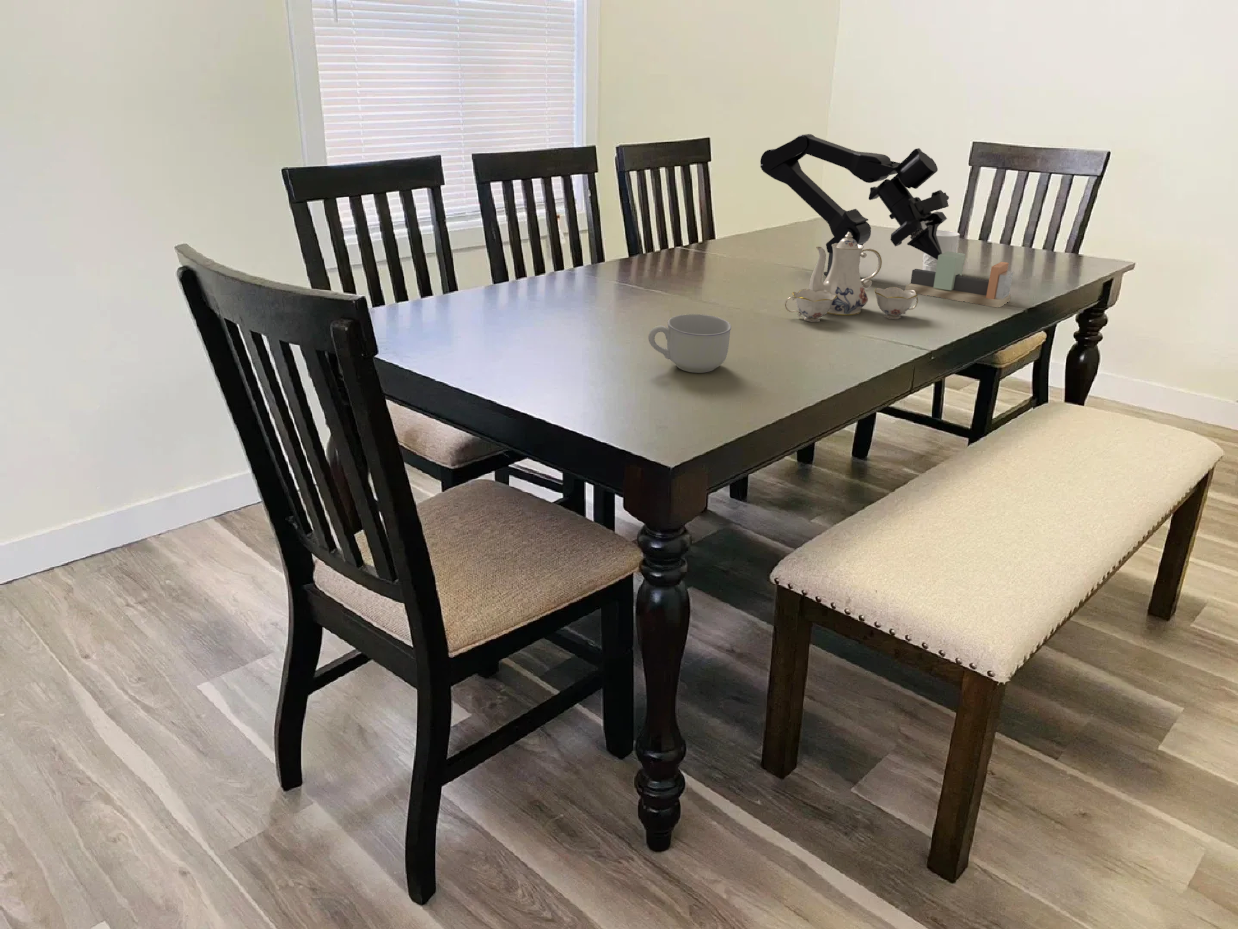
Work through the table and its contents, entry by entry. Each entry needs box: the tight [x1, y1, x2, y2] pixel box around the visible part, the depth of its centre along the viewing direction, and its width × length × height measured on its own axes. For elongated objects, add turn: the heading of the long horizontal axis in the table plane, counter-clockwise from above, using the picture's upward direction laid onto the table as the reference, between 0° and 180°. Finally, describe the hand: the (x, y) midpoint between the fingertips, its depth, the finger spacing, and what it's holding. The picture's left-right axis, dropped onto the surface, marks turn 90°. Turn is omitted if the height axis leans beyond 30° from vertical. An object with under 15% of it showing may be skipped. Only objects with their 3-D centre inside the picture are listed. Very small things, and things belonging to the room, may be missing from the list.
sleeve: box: [933, 251, 966, 290], centre depth 204 cm, size 4×6×7 cm
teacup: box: [648, 313, 732, 374], centre depth 155 cm, size 14×11×8 cm
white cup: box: [921, 229, 961, 272], centre depth 223 cm, size 8×8×10 cm
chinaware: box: [784, 232, 919, 323], centre depth 187 cm, size 28×17×17 cm, turn 105°
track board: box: [905, 282, 1011, 308], centre depth 205 cm, size 21×7×2 cm, turn 52°
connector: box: [995, 270, 1014, 300], centre depth 198 cm, size 1×5×5 cm, turn 142°
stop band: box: [986, 261, 1010, 299], centre depth 198 cm, size 2×6×7 cm, turn 142°
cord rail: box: [910, 268, 989, 296], centre depth 204 cm, size 20×2×3 cm, turn 52°
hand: (940, 258), depth 205 cm, fingers closed, pressing on sleeve
